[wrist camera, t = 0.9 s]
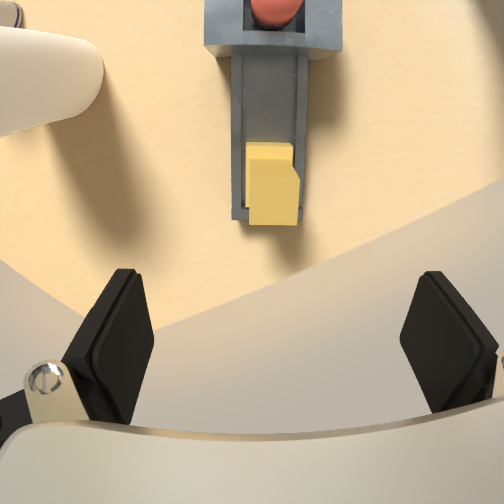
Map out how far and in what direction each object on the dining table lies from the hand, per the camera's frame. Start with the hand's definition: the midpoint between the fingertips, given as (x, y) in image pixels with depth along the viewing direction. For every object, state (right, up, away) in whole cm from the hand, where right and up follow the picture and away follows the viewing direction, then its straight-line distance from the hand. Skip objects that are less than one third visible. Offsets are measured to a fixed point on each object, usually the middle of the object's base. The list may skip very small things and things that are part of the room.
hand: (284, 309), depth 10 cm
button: (0, +19, +7) cm, 20 cm away
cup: (-19, +19, +13) cm, 29 cm away
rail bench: (0, +15, +15) cm, 21 cm away
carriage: (0, +9, +16) cm, 19 cm away
